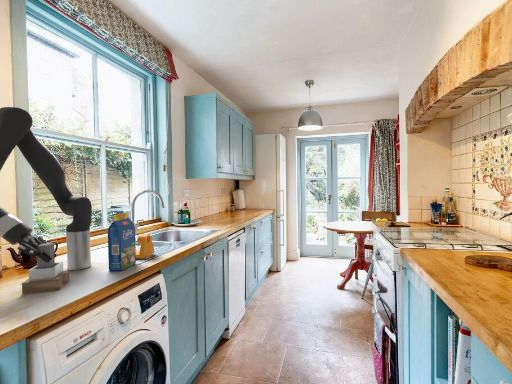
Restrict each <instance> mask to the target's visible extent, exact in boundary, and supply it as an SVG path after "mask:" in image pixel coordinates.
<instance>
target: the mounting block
mask: <svg viewBox="0 0 512 384" xmlns="http://www.w3.org/2000/svg"><path fill="white" fill-rule="evenodd" d="M70 280H71V279H70V270H68V269H67V270H63V273H61V274H60V275H59V276H58V277H57V278H55V279H46V280H36V281H29V278H28V279H25V280H24V281H23V282H21V292H22V295H29V294H30V295H31V294H37V293H45V292H46V293H47V292H54V291H55V292H56V291H60V290H62V288H63V287H64V286H65V285H66V284H67V283H69V281H70Z"/></svg>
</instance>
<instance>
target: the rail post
mask: <svg viewBox="0 0 512 384" xmlns="http://www.w3.org/2000/svg"><path fill="white" fill-rule="evenodd" d="M39 248H40V249H41V250H43V252H45V253H46V254H48V255H49V256H50V257H52V259H51V260H50V261H49V262H48V263H46V262H45V261H43V260H42V259H41V258H39V257H36V262H37V263H36V264H37V269H41V268H52V267H55V263H56V262H55V259H56V257H55V258H54V253H55V243H54V242H49V243H48V242H47V243H46V244H40V245H39Z"/></svg>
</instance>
